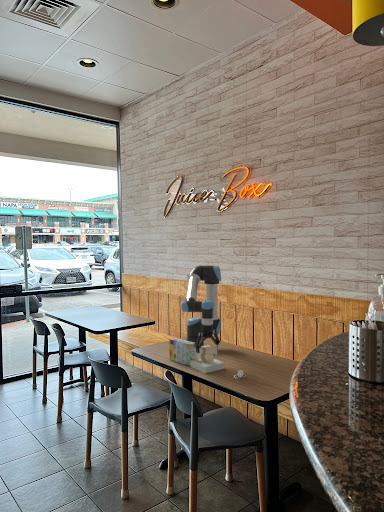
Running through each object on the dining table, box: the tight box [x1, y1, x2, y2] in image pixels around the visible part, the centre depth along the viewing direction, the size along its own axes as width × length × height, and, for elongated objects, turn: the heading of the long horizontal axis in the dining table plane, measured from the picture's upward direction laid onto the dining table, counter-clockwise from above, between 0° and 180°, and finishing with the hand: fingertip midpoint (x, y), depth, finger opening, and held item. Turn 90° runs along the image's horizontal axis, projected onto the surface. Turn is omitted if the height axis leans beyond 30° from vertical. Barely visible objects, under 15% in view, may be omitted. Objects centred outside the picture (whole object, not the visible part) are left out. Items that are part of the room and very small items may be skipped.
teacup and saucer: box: [233, 369, 245, 380], centre depth 244 cm, size 9×8×4 cm
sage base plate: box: [190, 358, 225, 374], centre depth 261 cm, size 16×16×4 cm
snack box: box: [169, 337, 197, 367], centre depth 272 cm, size 21×6×15 cm, turn 47°
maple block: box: [200, 344, 215, 364], centre depth 261 cm, size 6×6×10 cm
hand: (207, 355), depth 261 cm, fingers open, 13 cm apart
